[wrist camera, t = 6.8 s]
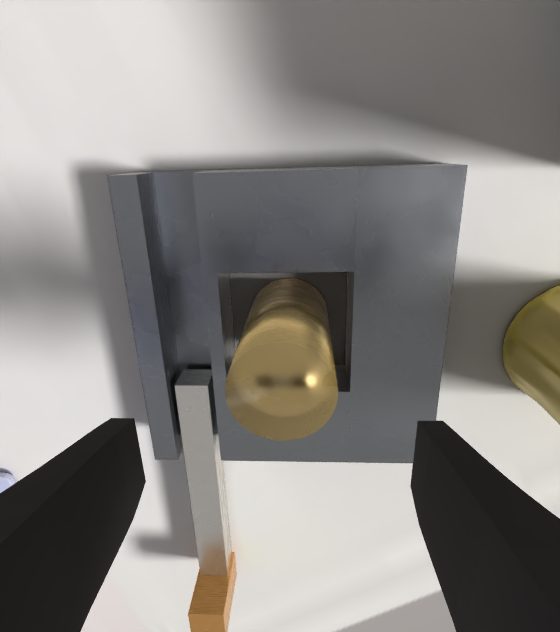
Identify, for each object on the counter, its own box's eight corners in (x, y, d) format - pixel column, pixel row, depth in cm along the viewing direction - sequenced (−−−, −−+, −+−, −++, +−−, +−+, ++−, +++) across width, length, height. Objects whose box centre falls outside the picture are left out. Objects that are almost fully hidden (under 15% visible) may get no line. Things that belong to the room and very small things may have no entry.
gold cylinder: (253, 349, 21) (229, 440, 14) (249, 278, 19) (220, 343, 13) (327, 348, 20) (337, 441, 14) (327, 277, 19) (339, 342, 13)
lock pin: (206, 572, 25) (191, 637, 22) (180, 369, 20) (155, 412, 17) (236, 573, 25) (226, 638, 22) (217, 369, 20) (199, 412, 17)
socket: (170, 427, 23) (155, 459, 20) (132, 172, 18) (107, 175, 16) (417, 430, 22) (430, 463, 20) (445, 163, 17) (467, 165, 15)
